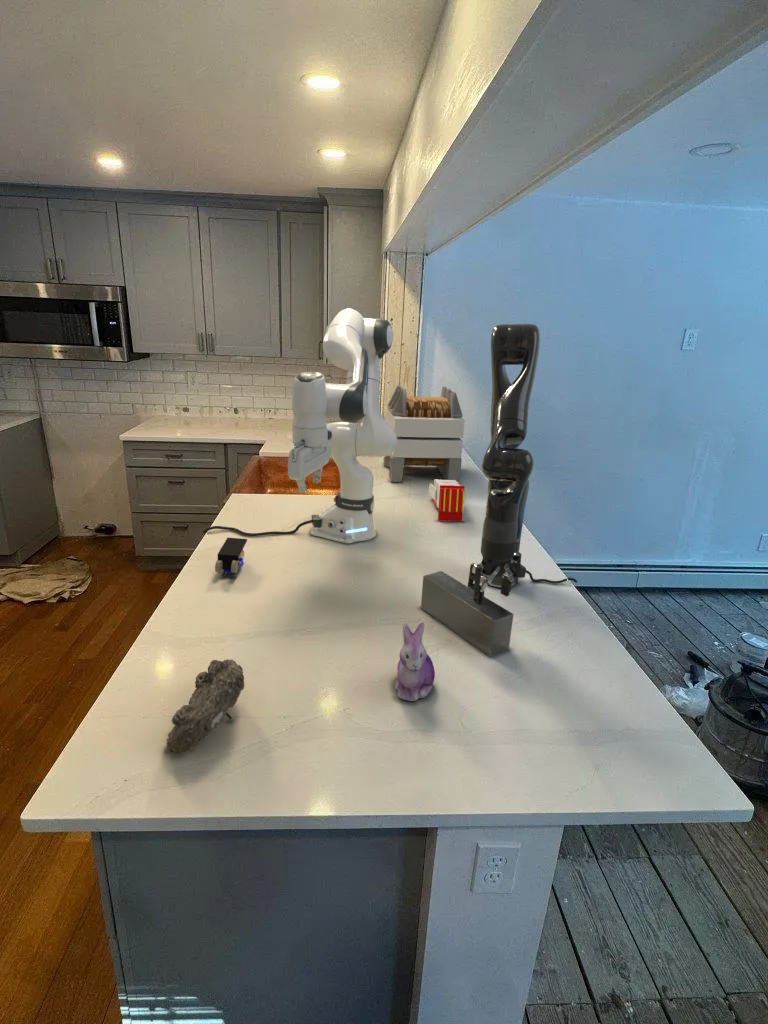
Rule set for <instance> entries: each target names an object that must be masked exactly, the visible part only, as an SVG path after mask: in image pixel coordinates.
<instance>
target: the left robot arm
mask: <svg viewBox="0 0 768 1024" xmlns="http://www.w3.org/2000/svg"><path fill="white" fill-rule="evenodd" d="M324 332H325V333H324V337H323V340H322V352H323V354H324V356H325V358H326V360H327V361H328V362H329V363H330V364H331V365H333V366H334V367H336V368H338V369H342V370H346V371H347V373H346V382H345V383H330V382H326V377H325V375H324V374H323V373H321V372H318V371H304V372H299V373H298V374H296V375H295V377H294V380H293V385H292V397H291V408H292V413H293V420H292V427H291V428H292V431H291V432H292V444H293V448H292V449H290V451H289V453H288V459H287V477H288V478H289V480H293V481H295V482H296V485H297V489H298V490H297V491H298V493H299V494H305V493H306V492H307V491H308V485H306V478H307V477H309V476H310V475H311V474H313V476H312V483H313V484H319V483H321V481H322V479H321V477H322V472H323V467H324V466H326V465H328V463H329V462H330V459H331V458H332V460H333V462H334V464H335V465H336V467H337V470H338V473H339V483H340V484H339V485H340V488H339V489H340V490H339V491H338V492H337V494H336V495H335V496H334V497H333V502H334V504H333V505H331V506H329V507H328V508H326V509H325V510H323V512H321V514H311V519H310V520H306V521H302V522H301V523H300V524H298V525H297V526H296V527H295V528H294V529H293V530H291V531H276V530H275V531H274V530H273V531H264V532H246V531H242V530H241V529H238V528H237V527H231V526H221V525H213V526H209V527H206V528H205V529H204V530H203V531H202V532H201V533H202V534H206V533H208V532H209V531H212V530H226V531H233V532H236V533H238V534H241V535H243V536H247V537H261V536H267V535H268V536H269V535H293V534H295V533H297V532H298V530H299V529H300V528H301V527H303V526H304V525H305V526H306V525H308V524H312V528H311V530H310V533H311V536H315V537H319V538H323V539H326V540H330V541H336V542H339V543H343V544H352V543H357V542H365V541H368V540H372V539H373V538H375V537H376V535H377V532H376V528H375V523H374V513H373V512H374V509H375V496H374V474H373V472H372V471H371V469H369V468H368V467H366V466H365V465H363V464H362V463H360V462H359V461H358V459H357V457H363V458H376V459H377V458H384V457H385V456H390V455H391V454H392V453H393V452H394V451H395V449H396V446H397V436H396V433H395V431H394V430H393V428H392V427H390V426H389V425H388V424H387V423H386V419H384V417H383V415H382V412H381V410H380V383H381V367H380V365H381V364H380V360H381V359H383V357H384V355H386V354H387V353H388V352H389V351H390V350H391V348H392V345H393V341H394V330H393V328H392V325H391V323H390V321H389V320H387V319H383V318H369V317H368V318H367V317H363V315H362V314H361V313H360V311H357V310H355V309H353V308H344V309H342V310H340V311H339V312H338V313H337V314H335V316H334V317H333V318H332V320H331V321H330V322H329V323H328V324H327V325H326V327H325V331H324ZM327 420H330V421H335V422H328V423H327ZM360 421H361V422H360Z"/></svg>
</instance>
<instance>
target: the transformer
mask: <svg viewBox="0 0 768 1024" xmlns="http://www.w3.org/2000/svg"><path fill="white" fill-rule="evenodd" d="M440 393H441V394H440V396H415V395H414V396H413V395H412V396H411V395H407V394H408V393H407V390H406V389H404V388H403V387H402V385H399V384H398V385H397V386H396V388H395V390H394V392H393V394H392V395H391V398H390V400H389V402H388V404H387V405H386V413H385V414H386V415H385V422H386V423H387V424H388V425H389V426H390V427H392V428H393V430H394V431H395V433H396V436H397V446H396V449H395V451H394V452H393V453H392V454H391V455H390V456H385V457H383V466H384V467H388V468H389V475H388V476H389V477H388V478H389V480H390V482H391V483H402V482H403V475H404V469H405V466H406V467H407V466H411V467H412V466H413V467H415V466H416V467H417V466H418V467H436V468H437V470H438V469H439V473H440V474H441V475H443V478H444V480H456V481H457V482H458V483H459V484H460V483H461V472H462V461H463V460H462V453H463V442H464V441H463V440H462V439H463V438H464V431H465V430H464V429H465V419H464V418H463V411H462V408H461V405H460V402H459V398H458V395H457V392H455V391H453V390H452V389H451V388H447V386H442V387H441V392H440Z"/></svg>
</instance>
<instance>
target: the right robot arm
mask: <svg viewBox="0 0 768 1024" xmlns="http://www.w3.org/2000/svg"><path fill="white" fill-rule="evenodd" d="M540 346H541V333H540V329H539V327H538V325H536V324H534V323H501V324H496V325H495V326H494V327H493V329H492V331H491V335H490V362H491V363H490V367H491V368H490V369H491V405H490V406H491V408H490V410H491V411H490V443H489V445H488V446H487V449H486V451H485V454H484V455H483V459H482V462H481V463H482V464H481V470H482V473H483V475H484V477H485V478H487V479H488V483H487V497H486V505H485V506H486V508H485V515H484V520H483V524H482V535H481V543H480V554H481V556H482V559H481V561H480V563H475V562H472V563H471V564H470V567H469V573H468V578H467V579H468V581H467V587H469V588H471V589H472V590H474V599H473V600H474V602H475V603H476V604H477V605H479V606H481V605H483V600H484V597H485V591H486V588H487V587H488V586H490V587H493V588H498V589H500V594H501V595H503V596H504V597H509V596H510V595H511V590H512V587H514V586H515V585H516V584H519V579H521V578H526V574H528V575H529V578H530V581H532V582H534V583H540V582H543V583H544V582H545V583H548V584H561V583H565V582H568V581H572V582H574V583H578V580H577V579H575V578H574V577H566V578H567V579H568V581H567V579H566V578H562V579H560V580H550V579H546V578H538V579H535V578H534V577H533V574H532V572H531V571H530V570H527V567H525V566H524V565H523V564H521V563H522V553H521V552H520V547H521V541H522V532H523V525H524V517H525V510H526V505H527V499H528V496H529V495H528V494H529V490H530V477H531V474H532V472H533V470H534V465H535V464H534V463H535V461H534V456H533V455H532V452H531V451H529V450H528V449H525V448H519V447H520V446H521V445H522V444H523V442H524V441H525V440H526V438H527V432H528V421H529V420H528V418H529V408H530V401H531V396H532V392H533V386H534V382H535V377H536V372H537V366H538V361H539V354H540ZM506 366H522V367H521V369H520V372H519V374H518V375H517V376H516V377H515V379H514V381H513V382H511V380H510V378H509V375H508V373H507V368H506Z"/></svg>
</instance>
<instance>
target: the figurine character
mask: <svg viewBox="0 0 768 1024" xmlns="http://www.w3.org/2000/svg"><path fill="white" fill-rule="evenodd" d="M247 542H248V538H240V537H226V539H225V541H224V543H223V544H222V546H221V547H220V549H219V551H218V552H217V560H216V562H215V564H214V572H215V573H221V577H222V578H224V577H225V576H226V574H227V573H230V574H231V573H232V574H231V578H234V577H235V575H236V573H237V572H239V571H240V567H242V566H243V565H244V564H245V562H244V558H245V551H244V547H245V546H246V544H247Z"/></svg>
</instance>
